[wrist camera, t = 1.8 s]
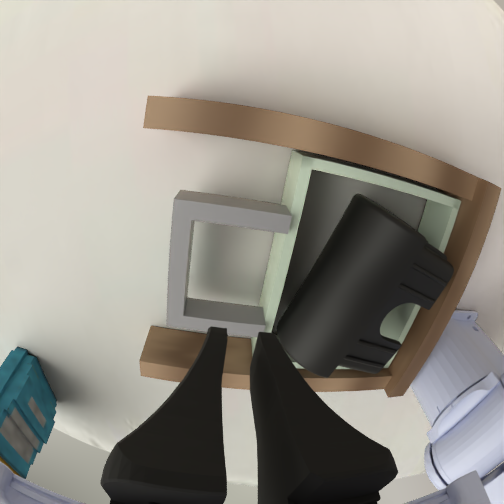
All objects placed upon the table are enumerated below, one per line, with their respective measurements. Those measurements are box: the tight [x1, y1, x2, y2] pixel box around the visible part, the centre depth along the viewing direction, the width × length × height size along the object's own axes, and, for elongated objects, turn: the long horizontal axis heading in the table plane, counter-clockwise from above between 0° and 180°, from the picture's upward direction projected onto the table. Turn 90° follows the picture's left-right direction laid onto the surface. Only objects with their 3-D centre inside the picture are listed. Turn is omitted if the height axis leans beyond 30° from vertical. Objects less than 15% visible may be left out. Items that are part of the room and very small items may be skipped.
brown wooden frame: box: [140, 96, 501, 397], centre depth 18 cm, size 21×18×5 cm
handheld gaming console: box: [0, 347, 57, 479], centre depth 18 cm, size 10×4×15 cm, turn 173°
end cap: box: [277, 194, 454, 378], centre depth 18 cm, size 10×7×7 cm
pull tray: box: [167, 150, 461, 369], centre depth 19 cm, size 17×14×4 cm
